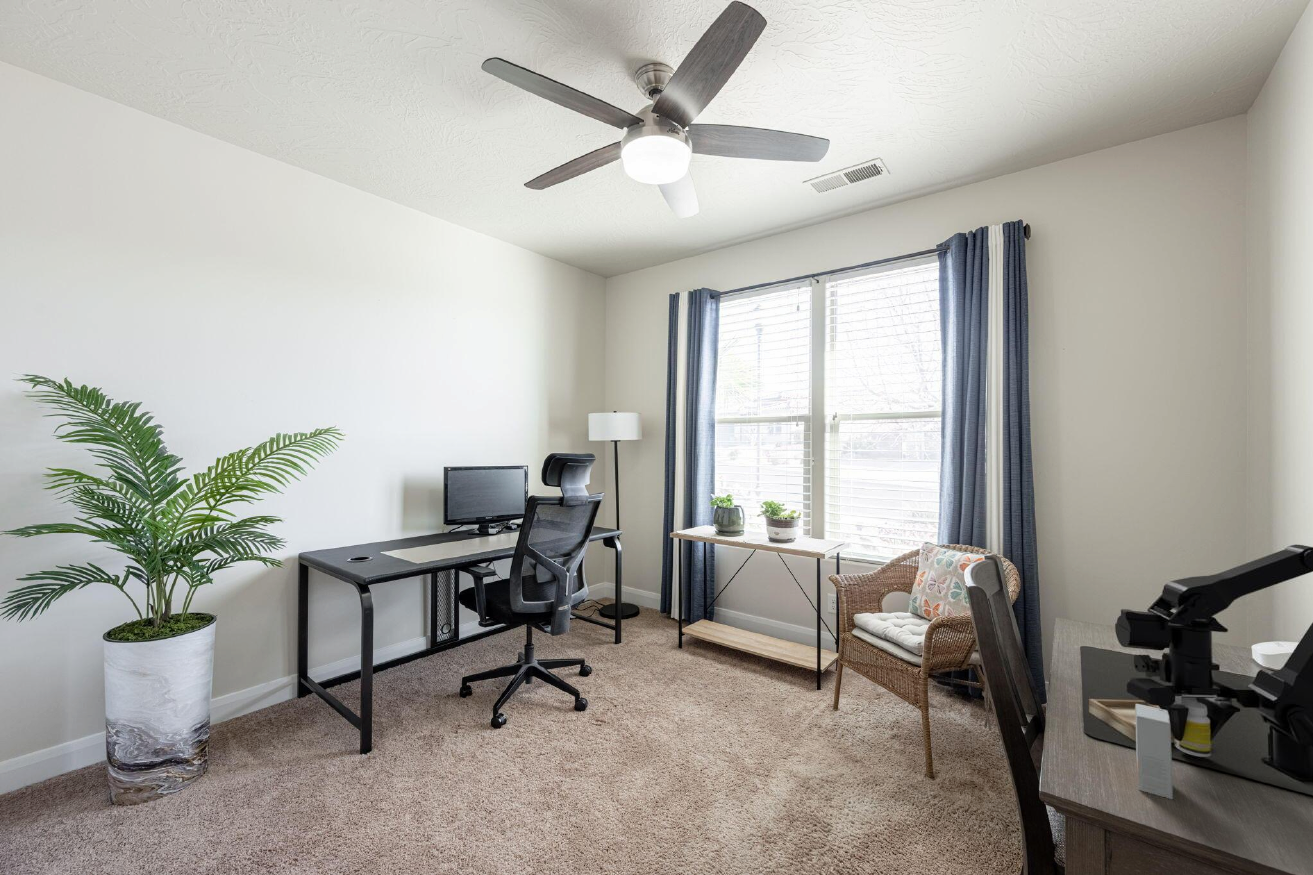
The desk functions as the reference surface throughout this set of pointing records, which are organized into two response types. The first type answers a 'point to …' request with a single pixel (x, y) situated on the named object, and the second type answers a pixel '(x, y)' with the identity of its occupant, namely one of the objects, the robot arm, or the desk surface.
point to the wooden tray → (1119, 714)
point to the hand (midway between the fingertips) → (1192, 740)
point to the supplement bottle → (1196, 730)
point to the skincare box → (1153, 751)
